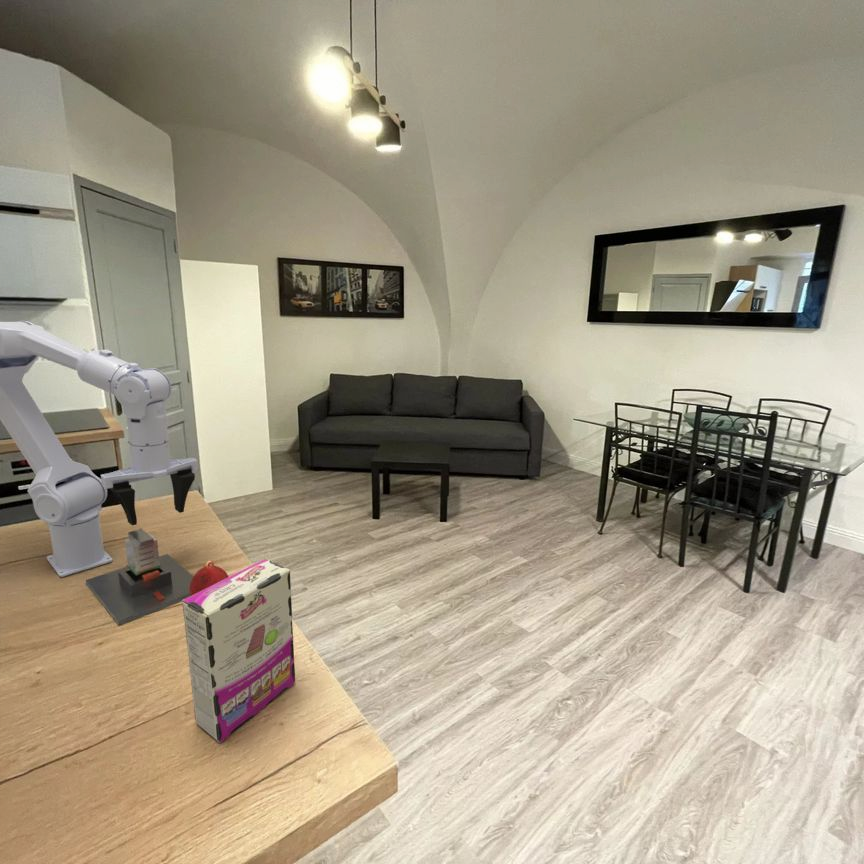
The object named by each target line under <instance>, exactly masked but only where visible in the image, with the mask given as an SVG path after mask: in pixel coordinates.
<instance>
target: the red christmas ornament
mask: <svg viewBox="0 0 864 864" xmlns="http://www.w3.org/2000/svg"><path fill="white" fill-rule="evenodd" d="M193 576H194V577H193V578H192V580H191V583H190V595H191V596H192V595H194V594H196V593H198V592H200V591H202V590H204V589H206V588H208V587H210V586H212V585H214V584H216V583H218V582H220V581H222V580H224V579H226V578H228V577H229V575H228V573H227V572H226V571H225V569H223V568H222V567H220V566H217V565H215V561H213V560H208V561H206V562H205V564H204V566H203V567H202V568H200V569H199V570H197V571H196V572H195V574H193Z"/></svg>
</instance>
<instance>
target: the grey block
mask: <svg viewBox="0 0 864 864" xmlns="http://www.w3.org/2000/svg"><path fill="white" fill-rule="evenodd" d="M124 542H125V543H124V544H125V552H126V560H127V565H126V567H128V568H129V569H130V570H131V571H132V572H133V573H134V574H135V575H139V574H142V573H145V572H148V571H150V570H153V569H156V568H159V567H161V565H160V562H159V556H160V554H159V545H158V539H157V538H155V537H154V536H153V535H152V534H151V533H148V532H146V531H145V530H143V528H139V529H134V530H132V531H128V538H127V539H125V540H124Z"/></svg>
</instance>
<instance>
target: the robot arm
mask: <svg viewBox="0 0 864 864" xmlns="http://www.w3.org/2000/svg"><path fill="white" fill-rule="evenodd" d="M38 358H42V359H45V360H47V361H50V362H53V363H55V364H58V365H61V366H63V367H67V368H69V369H71V370H74V371H76V372H77V376H78V378H79V379H80V381H82V382H84V383H86V384H89V385H90V386H93V387H95V388H97V389H100V390H102V391H105V392H107V393H109V394H111V395H114V396H115V398H116V400H117V401H118V402H119V404H120V405H121V407H122V410H123V415H125V418H126V424H127V432H128V433H127V434H128V441H129V450H130V452H129V453H130V460H131V466H129V467H126V468H121V469H119V470H115V471H113V472H112V471H111V472H109V473H108V472H107V473H104V474H103V473H102V474H100V477H98V476H97V475H96V474H95V473H94V472H93V471H92V470H91V467H90V466H89V465H86V464H83V463H80V462H77V461H74V460H73V459H71V457H70V456H69V454H68V452H67V451H66V449H65V448H64V446H63V445H62V443H61V441H60V440H59V438H58V436H57V435H56V433H55V432H54V430H53V428H52V427H51V425H50V424H49V422H48V421H47V419H46V418H45V416H44V414H43V412H42V411H41V410H40V408H39V407H38V405H37V403H36V402H35V400H34V398H33V397H32V395H31V394H30V392H29V391H28V389H27V388H26V385H25V384H24V382H23V380H24V376H25V375H26V374H27V373H29V371H30V370H31V368H32V367H33V365H34V364H35V363H36V361H37V359H38ZM171 394H172V383H171V381H170V379H169V376H168V375H167V374H165V373H164V372H162V371H161V370H159V369H158V368H155V367H151V368H146V369H142V368H141V367H140V365H139V364H138V363H136V362H128V361H125V360H123V359H121V358H119V357H117V356H114V352H113V351H111V350H109V349H95V350H90V351H89V352H87V351H86V350H83V349H81V348H80V347H77V346H76V345H74V344H72V343H69V342H68V341H66V340H64V339H62V338H59V337H58V336H57V335H54V334H52V333H51V332H48V331H46V329H45V328H44V326H42V325H37V324H34V323H32V322H30V321H26V320H18V321H0V422H1V423H2V425H3V426H4V427H5V430H6V431H7V432H8V434H9V436H10V437H11V439H12V440H13V442H14V443H15V445H16V446H17V448H18V449H19V451H20V452H21V454H22V456H23V457H24V459H25V460H26V461H27V463H28V465H29V466H30V468H31V470H32V471H33V472H34V474H35V477H34V478H33V480H32V481H31V484H30V485H29V486H28V489H27V493H28V495H29V496H30V497H31V500H32V505H33V509H34V512H35V513H36V515H37V517H38V518H39V519H40V520H41V521H42V522H44V523H45V525H48V528H49V535H50V537H49V538H50V541H51V548H52V549H51V550H52V554H50V555H47V556H46V559H47V561H48V562H49V564H50V566H51V567H52V568H53V570H54V571H55V572H56V574H57V575H58V576H59V577H60V578H62V577H66V576H70V575H73V574H75V573H76V574H77V573H80V572H83V571H87V570H89V569H92V568H96V567H100V566H102V565H106V564H108V563H112V562H113V558H112V557H111V555H110V554H109V553H107V551H106V550H105V549H104V540H103V534H102V525H101V518H100V511H102V505H103V503H105V501H106V500H107V497H108V489H110V491H111V492H112V493H113V495H114V496H115V497H116V499H117V500H118V502H119V504H120V505H121V507H122V509H123V512H124V514H125V516H126V519H127V523H128V524H129V525H130V526H136V525H138V524H137V523H138V520H137V519H138V518H137V514H136V506H135V504H136V503H135V501H136V499H135V498H136V497H135V496H136V495H135V494H136V490H135V489H134V488H132V484H130V483H136V482H140V481H145V480H149V479H153V478H158V477H159V478H160V477H163V476H170V480H171V485H172V488H173V490H172V491H173V503H174V509H175V511H177V512H178V513H179V514H181V513H184V512H185V507H186V501H187V498H188V494H189V491H190V489H191V488H192V484H193V483H194V482H195V479H196V475H195V471H198V470H199V465H198V463H199V462H198V459H196V458H195V457H189V458H181V459H171V454H170V444H169V442H170V441H169V430H168V428H169V427H168V418H167V408H166V400H168V399H169V398H170V396H171ZM62 482H63V483H62ZM60 483H61V484H60ZM57 484H58V485H57Z"/></svg>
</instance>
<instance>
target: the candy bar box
mask: <svg viewBox="0 0 864 864" xmlns="http://www.w3.org/2000/svg"><path fill="white" fill-rule="evenodd" d="M181 602H182V612H183V621H184V628H185V637H186V638H185V639H186V647H187V655H188V663H189V664H188V665H189V674H190V675H189V677H190V682H191V692H192V702H193V711H194V720H195V724H196V725H197V726H198V727H199V728H200V729H201V730H202V731H204V732H206V733H207V734H208V735H209V736H210V737H211V738H213V739H214V740H215V741H217V742H218V743H219V744H221V743H222V742H224V741H225V740H226V739H228V738H229V737H230V736H231V735H233V733H235V732H236V731H238V730H239V729H240V728H241V727H242V726H243V725H245V724H246V723H248V722H249V721H250V720H251V719H252V718H254V717H255V716H256V715H257V714H258V713H260V712H261V711H262V710H263V709H265V708H266V707H267V706H269V705H270V704H271V703H272V702H273V701H274V700H275V699H277V698H278V697H280V695H282V694H283V693H284V692H286V690H288V689H289V688H291V687H292V686H293V685H294V684H295V683H296V671H295V652H294V647H295V646H294V632H293V630H294V629H293V611H292V610H293V609H292V604H293V603H292V585H291V569H289V568H287V567H285V566H282V565H279V564H277V563H276V562H272V561H271V560H270V559H266V558H265V559H262V560H260V561H258V562H256V563H254V564H252V565H249V566H248V567H246V568H243V569H241V570H239V571H238V572H236V573H234V574H232V575H230V576H228V578H226V579H224V580H222V581H220V582H218V583H216V584H214V585H212V586H210V587H208V588H206V589H204V590H202V591H200V592H198V593H196V594H194V595H192V596H190V597H188V598H186V599H184V600H182V601H181Z"/></svg>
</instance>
